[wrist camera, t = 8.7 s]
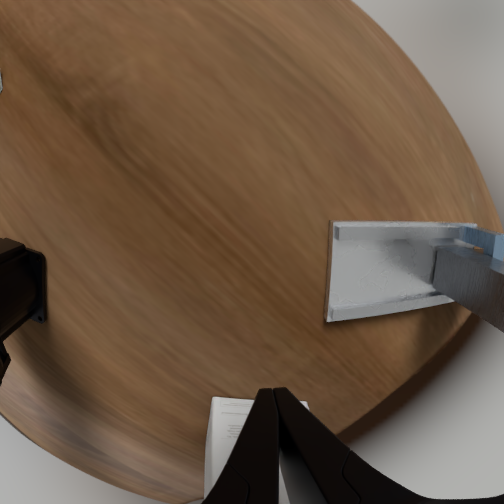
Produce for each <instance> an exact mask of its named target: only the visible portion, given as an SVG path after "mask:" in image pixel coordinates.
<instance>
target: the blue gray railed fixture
mask: <svg viewBox="0 0 504 504" xmlns="http://www.w3.org/2000/svg"><path fill="white" fill-rule="evenodd" d="M456 246H464V247H467V248H470V249H474V246H478V247H480V248H483V249H484V251H483V254H486V255H488V256H491V257H494V258H496V259H499V260H501V261H503V257H504V234H501V233H498V232H495V231H491V230H488V229H484V228H480V227H477V224H476V223H472V222H446V221H402V220H329V248H328V267H327V283H326V297H325V309H324V318H325V320H326V321H327V322H331V321H339V320H347V319H355V318H363V317H370V316H377V315H383V314H390V313H396V312H402V311H408V310H413V309H419V308H424V307H429V306H435V305H440V304H444V303H449V302H454V300H452V299H451V298H449V297H447V296H446V295H444V294H442V293H441V292H439V291H437V290H436V289H434V288H432V285H433V279H434V273H435V267H436V260H437V252H438V247H456Z"/></svg>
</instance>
